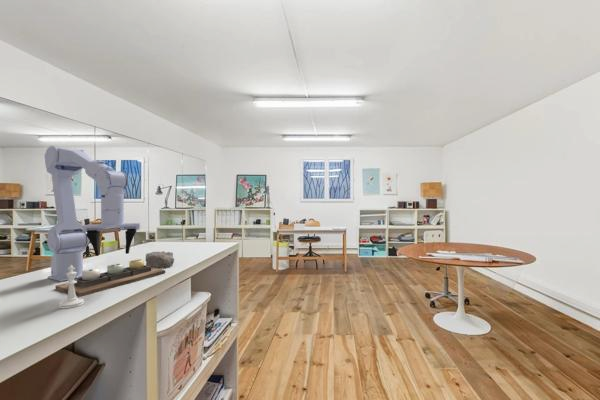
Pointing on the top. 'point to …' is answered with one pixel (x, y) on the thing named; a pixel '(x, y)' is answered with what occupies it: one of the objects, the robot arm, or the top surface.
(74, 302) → the chess piece
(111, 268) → the button two
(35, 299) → the top surface
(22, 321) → the top surface
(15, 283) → the top surface
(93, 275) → the button one
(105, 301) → the top surface
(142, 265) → the button three
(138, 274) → the button board
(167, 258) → the stone
